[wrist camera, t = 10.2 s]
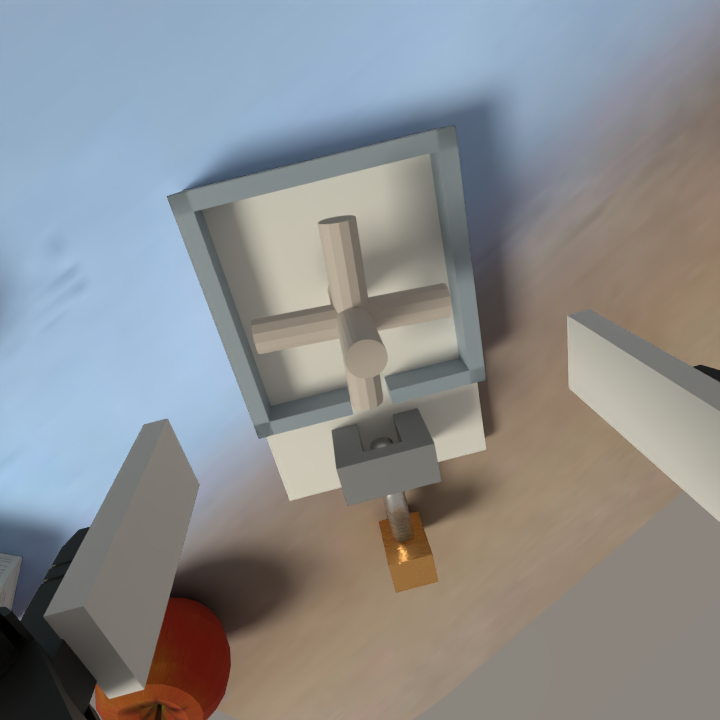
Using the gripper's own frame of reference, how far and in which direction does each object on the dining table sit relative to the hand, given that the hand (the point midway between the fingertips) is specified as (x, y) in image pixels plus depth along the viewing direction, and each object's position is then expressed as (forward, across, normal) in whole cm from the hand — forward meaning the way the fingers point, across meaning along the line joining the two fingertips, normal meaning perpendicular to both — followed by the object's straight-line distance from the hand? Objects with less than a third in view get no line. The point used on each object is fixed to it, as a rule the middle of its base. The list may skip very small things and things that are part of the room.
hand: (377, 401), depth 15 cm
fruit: (+16, -20, -25) cm, 36 cm away
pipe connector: (+15, 0, -1) cm, 15 cm away
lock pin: (+15, 0, -17) cm, 22 cm away
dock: (+16, 0, -4) cm, 16 cm away
